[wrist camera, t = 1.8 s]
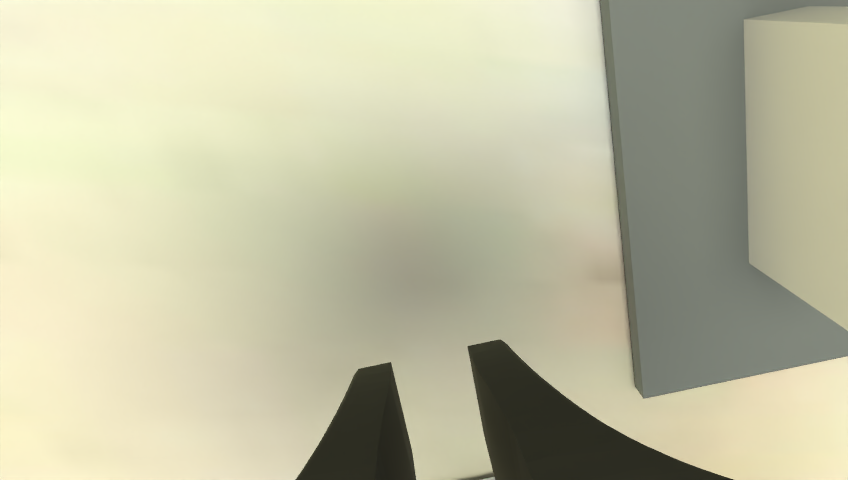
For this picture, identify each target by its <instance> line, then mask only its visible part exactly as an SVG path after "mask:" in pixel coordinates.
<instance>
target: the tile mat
mask: <svg viewBox="0 0 848 480" xmlns="http://www.w3.org/2000/svg"><path fill="white" fill-rule="evenodd" d="M807 6H839V7H848V0H600V7H601V18H602V29H603V40H604V51H605V62H606V72H607V83H608V94H609V105H610V116H611V127H612V138H613V148H614V159H615V170H616V181H617V192H618V203H619V213H620V224H621V235H622V246H623V257H624V268H625V279H626V289H627V300H628V311H629V322H630V333H631V344H632V355H633V365H634V376H635V387H636V388H637V390H638V391H639V393H640V394H641V395H642V397H643V398H649V397H654V396H659V395H663V394H668V393H673V392H678V391H683V390H687V389H692V388H697V387H702V386H707V385H711V384H716V383H721V382H726V381H731V380H735V379H740V378H745V377H750V376H755V375H759V374H764V373H769V372H774V371H779V370H783V369H788V368H793V367H798V366H803V365H807V364H812V363H817V362H822V361H826V360H831V359H836V358H841V357H846V356H848V331H847V330H846V329H844V328H843V327H842V326H840V325H839V324H837V323H836V322H834V321H833V320H831V319H830V318H828V317H827V316H825V315H824V314H823V313H821V312H820V311H818V310H817V309H815V308H814V307H812V306H811V305H809V304H808V303H806V302H805V301H804V300H802V299H801V298H799V297H798V296H796V295H795V294H793V293H792V292H790V291H789V290H788V289H786V288H785V287H783V286H782V285H780V284H779V283H777V282H776V281H774V280H773V279H771V278H770V277H769V276H767V275H766V274H764V273H763V272H761V271H760V270H758V269H757V268H755V267H754V266H752V265H751V264H750V263H749V239H748V194H747V149H746V105H745V60H744V19H748V18H753V17H758V16H763V15H768V14H773V13H778V12H783V11H788V10H793V9H798V8H802V7H807Z"/></svg>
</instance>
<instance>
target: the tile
mask: <svg viewBox="0 0 848 480" xmlns="http://www.w3.org/2000/svg"><path fill="white" fill-rule="evenodd" d="M744 60H745V105H746V149H747V194H748V239H749V263H750V264H751V265H752V266H754V267H755V268H757V269H758V270H760V271H761V272H763V273H764V274H766V275H767V276H769V277H770V278H771V279H773V280H774V281H776V282H777V283H779V284H780V285H782V286H783V287H785V288H786V289H788V290H789V291H790V292H792V293H793V294H795V295H796V296H798V297H799V298H801V299H802V300H804V301H805V302H806V303H808V304H809V305H811V306H812V307H814V308H815V309H817V310H818V311H820V312H821V313H823V314H824V315H825V316H827V317H828V318H830V319H831V320H833V321H834V322H836V323H837V324H839V325H840V326H842V327H843V328H844V329H846V330H847V331H848V7H839V6H807V7H802V8H798V9H793V10H788V11H783V12H778V13H773V14H768V15H763V16H758V17H753V18H748V19H744Z"/></svg>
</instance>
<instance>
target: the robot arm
mask: <svg viewBox="0 0 848 480" xmlns="http://www.w3.org/2000/svg"><path fill="white" fill-rule="evenodd" d="M468 351H469V356H470V361H471V367H472V372H473V377H474V383H475V388H476V394H477V399H478V404H479V410H480V415H481V420H482V426H483V431H484V436H485V440H486V444H487V448H488V452H489V456H490V460H491V464H492V468H493V472H494V476H495V477H491V478H486V479H481V480H733V479H730V478H727V477H724V476H721V475H718V474H715V473H712V472H709V471H706V470H703V469H700V468H697V467H695V466H692V465H689V464H687V463H684V462H682V461H679V460H677V459H674V458H672V457H670V456H668V455H665V454H663V453H661V452H659V451H656V450H654V449H652V448H649V447H647V446H645V445H643V444H641V443H639V442H637V441H635V440H633V439H631V438H629V437H627V436H625V435H624V434H622V433H620V432H618V431H616V430H615V429H613V428H611V427H609V426H607V425H606V424H604V423H602V422H601V421H599V420H598V419H596V418H595V417H593V416H592V415H590V414H589V413H587V412H586V411H584V410H583V409H582V408H580V407H579V406H577V405H576V404H574V403H573V402H572V401H570V400H569V399H568V398H566V397H565V396H564V395H562V394H561V393H560V392H559V391H557V390H556V389H555V388H554V387H552V386H551V385H550V384H549V383H548V382H546V381H545V380H544V379H543V378H541V377H540V376H539V375H538V374H537V373H536V372H535V371H533V370H532V369H531V368H530V367H529V366H528V365H527V364H526V363H525V362H524V361H523V360H522V359H521V358H520V357H519V356H518V355H517V354H516V353H515V352H514V351H513V350H512V349H511V348H510V347H509V346H508V345H507V344H506V343H505V342H503V341H502V340H495V341H490V342H485V343H481V344H476V345H471V346H468ZM296 480H416V476H415V469H414V462H413V455H412V449H411V445H410V441H409V436H408V432H407V428H406V424H405V420H404V415H403V411H402V407H401V403H400V399H399V394H398V390H397V386H396V382H395V378H394V373H393V369H392V365H391V362H390V363H385V364H380V365H375V366H370V367H366V368H361V369H358V371H357V372H356V373H355V375H354V377H353V379H352V381H351V384H350V386H349V388H348V390H347V392H346V394H345V397H344V399H343V401H342V403H341V405H340V407H339V409H338V411H337V413H336V414H335V416H334V418H333V420H332V422H331V424H330V425H329V427H328V429H327V431H326V433H325V434H324V436H323V438H322V440H321V441H320V443H319V445H318V446H317V448H316V449H315V451H314V453H313V454H312V456H311V457H310V459H309V460H308V462H307V464H306V465H305V467H304V468H303V470H302V471H301V473H300V474H299V476H298V477H297V479H296Z"/></svg>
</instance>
